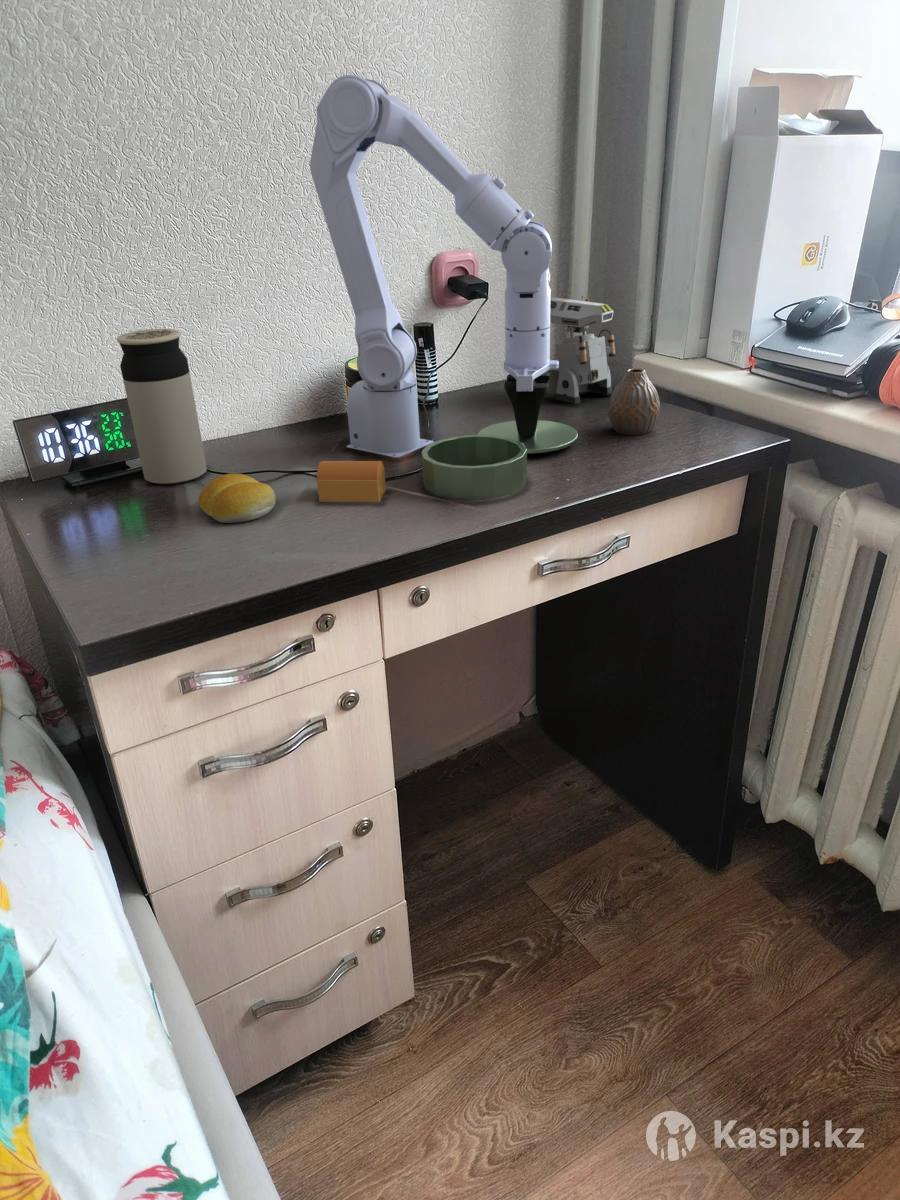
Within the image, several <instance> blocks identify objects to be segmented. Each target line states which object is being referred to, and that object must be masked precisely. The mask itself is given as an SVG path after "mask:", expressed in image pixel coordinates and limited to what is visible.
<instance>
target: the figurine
mask: <svg viewBox="0 0 900 1200" xmlns="http://www.w3.org/2000/svg"><path fill="white" fill-rule="evenodd" d="M613 315H614V309H613V308H611V307H610V305H608V304H607V303H601V302H592V301H590V299H589V298H586V299H585V300H577V299H570V298H564V297H563V298H562V297H551V302H550V324H553V325H561V326H566V327H567V329H566V331H567V332H569V336H566V337H563V341H561V342H557V343H555V351H556V354H555V356H554V358H553V359H551V360H557V361H559V368H558V379H557V384H556V392H555V395H554V400H556V401H562V402H565V403H571V404H574V405H575V404H581V395H580V394H579V386H580V385H587V387H586V391H588V393H592V394H594V395H595V394H598V395H599V396H604V397H605V396H609V395H610V394H612V392H613V386H612V377H611V375H612V374H611V370H610V367H609V365H608V359H607V355H608V357H609V358H610V357H612V358H613V357H616V356H617V353H616V347H615V336H614V334H612V333H611V331H610V330H608V329H602V330H601V331H600V332H599V334H598V336H595V334H594V333H587V331H588V329H589V326H590V325H593V324H596V323H605V322H609V321H612V319H613ZM603 332H608V333H609V334H608V335H607V344H608V345H607V344H606V338H605V336H604V335H602V333H603ZM574 333H576V334H577V335H575V334H574ZM606 345H607V346H606ZM551 370H553V369H550V370H548V371H547V372H550V371H551Z"/></svg>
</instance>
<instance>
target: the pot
mask: <svg viewBox="0 0 900 1200" xmlns="http://www.w3.org/2000/svg"><path fill="white" fill-rule="evenodd" d="M420 454H421V456H420V457H421V471H422V484H423V486H424V489H425V490H426V491H428V492H429V493H431V494H433V495H434V496H437V497H442V498H447V499H451V500H466V501H470V500H471V501H477V500H486V499H488V500H489V499H496V498H500V497H503V496H507V495H511V494H513V493H515V492H518V491H519V490H520V489H522V488H524V486H525V485H526V483H527V481H528V453H527V449H526V448H525V446H524V445H523V443H521V442H518V441H516V440H514V439H511V438H506V437H500V436H494V435H478V434H467V435H456V436H451V437H447V438H442V439H438V440H436V441H433V443H431V444H428V445H426V446H424V447H423V449H422V451H421V452H420Z"/></svg>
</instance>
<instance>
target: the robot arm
mask: <svg viewBox="0 0 900 1200" xmlns="http://www.w3.org/2000/svg"><path fill="white" fill-rule="evenodd" d="M315 110H316V126H315V132H314V137H313V143H312V149H311V154H310V159H309V169H310V170H309V171H310V174H311V177H312V181H313V184H314V188H315V191H316V193H317V197H318V200H319V205H320V206H321V207H320V208H321V210H322V213H323V216H324V217H323V218H324V219H325V223H326V226H327V229H328V232H329V236H330V239H331V242H332V245H333V249H334V252H335V255H336V258H337V262H338V265H339V268H340V272H341V274H342V278H343V281H344V284H345V287H346V291H347V293H348V297H349V301H350V303H351V307H352V310H353V314H354V317H355V320H354V338H355V341H356V345H357V357H356V366H357V368H356V369H357V371H358V374H359V377H361V380H359V381H357V382H355V383H354V384H353V385H352V386H351V387H350V388H349V391H348V394H347V398H346V412H347V421H348V422H347V423H348V432H349V442H350V444H348V445H346V448H349V449H354V450H359V451H363V452H368V453H372V454H378V455H383V456H387V457H392V458H401V457H403V456H405V455H407V454H410V453H412V452H414V451H416V450H419V449H421V448H425V447H426V446H427V445H429V444H431V443H434V441H433V440H431V439H424V438H421V435H420V434H421V433H420V418H419V417H420V415H419V403H418V402H419V401H418V385H417V378H416V376H415V375H414V374H413V371H412V370H411V367H412V366H413V365H414V363H415V361H416V359H417V354H418V349H417V343H416V341H415V339H414V337H413V336H412V334H410V332H409V331H408V330H407V329H406V327H405V325H404V324H403V321H402V317H401V314H400V312H399V311H398V309H397V307H395V305H394V303H393V300H392V297H391V294H390V290H389V286H388V283H387V280H386V276H385V274H384V270H383V266H382V262H381V259H380V256H379V252H378V249H377V245H376V242H375V239H374V238H375V237H374V236H373V232H372V229H371V224H370V222H369V218H368V215H367V211H366V208H365V204H364V201H363V197H362V194H361V190H360V186H359V183H358V180H357V176H356V173H357V170H358V169H359V167H360V165H361V163H362V161H363V160H364V158H365V156H366V154H367V152H368V150H369V148H370V147H372V145H374V143H376V142H378V143H382V144H386V145H390V146H395V147H399V148H402V149H403V150H404V151H406V152H407V153H408V154H409V155H410V156H411V157H412V158H413V159H414V160H415V161H416V162H417V163H418V164H420V166H421V167H422V168H424V170H426V171H427V172H428V173H429V174H430V175H431V176H432V177H434V178H435V180H437V181H438V182H439V183H440V184H441V185H442V186H443V187H444V188H445V189H446V190H448V191H449V192H450V193H451V195H453V197H454V212H455V214H456V216H458V217H459V218H460V219H461V220H462V222H464V223H465V225H467V226H468V227H469V228H470V229H471V230H472V231H473V232H474V233H475V234H476V235H477V236H478V237H479V238H480V239H481V240H482V242H484V243H485V244H486V245H487V246H488V247H489V248H490V249H491V250H492V251H498V252H500V253H501V254H500V257H501V261H502V265H503V267H504V269H505V270H506V271H505V272H506V275H505V276H506V278H505V279H506V280H505V281H506V284H505V285H506V287H505V289H504V362H503V370H504V371H505V372H506V373H508V374H507V375H506V380H505V381H504V384H503V385H504V386H503V387H504V390H505V393H506V395H507V396H508V398H509V401H510V403H511V407H512V410H513V416H514V421H516V426H517V431H518V434H519V436H534V435H535V432H536V427H537V422H538V420H539V415H540V409H541V405H542V402H543V400H544V398H545V395H546V393H547V392H548V389H549V383H548V382H549V380H550V371H551V370H550V369H552V370H557V369H558V368H559V361H557V360H552V359H551V357H550V356H551V323H550V302H551V299H552V297H551V293H552V292H551V291H552V290H551V287H550V285H549V284H550V282H551V272H550V267H549V265H550V263H551V261H552V254H553V252H552V250H553V243H552V239H551V236H550V234H549V232H548V230H546V229H545V226H544V224H542V223H541V222H538V221H536V220H532V219H533V218H534V216H535V215H534V213H533V212H532V211H531V210H530V209H527V210H526V211H525V210H524V209H523V208H522V207H521V205H519V204H518V203H517V201H515V200H514V199H513V197H511V195H510V194H508V193H507V192H506V191H505V189H504V188H505V187H506V183H505V181H503V179H501V177H499V176H497V177H496V178H495V179H493V177H492V176H491V175H490V174H488V173H478V174H473V173H472V172H471V171H470V170H469V169H468V168H467V167H466V166H465V165H464V164H463V163H462V162H461V161H460V159H459V158H458V157H457V156H456V155H455V154H454V153H453V151H452V150H450V149H449V148H448V146H446V144H445V143H444V142H443V141H442V140H441V139H440V137H438V135H437V134H436V133H435V132H433V130H432V129H431V128H430V127H429V126H428V125H427V123H425V122H424V120H423V119H421V117H420V116H419V115H418V114H417V113H416V112H415V111H414V110H412V108H410V107H409V105H407V104H405V103H404V102H403V101H402V100H401V99H400V98H398V97H397V96H395V95H393V94H390V93H389V91H388V90H387V89H386V87H384V85H382V83H380V82H378V81H376V80H373V79H370V78H369V79H368V78H365V79H364V78H362V77H361V76H359V75H354V74H345V75H342V76H339V77H336V79H334V80H333V81H332V82H331V83H330V84H329V86H328V88H326V91H325V92H324V94H323V96H322V97H321V100H320V101H319V103H318V104H317V106H316V109H315ZM548 370H550V371H548Z"/></svg>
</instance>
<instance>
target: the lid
mask: <svg viewBox="0 0 900 1200" xmlns="http://www.w3.org/2000/svg"><path fill="white" fill-rule="evenodd" d="M477 435H494V436H500V437H506V438H511V439H514V440H516V441H518V442H521V443H523V445H524V446H525V448H526V449H527V454H542V453H550V452H556V451H559V450H563V449H566V448H568V447H570V446H573V445H574V444H575V443H576V442H577V440H578V437H579V436H578V435H579V434H578V431H577V430H576V429H575V428H574V427H572V426H570V425H568V424H566V423H565V424H564V423H562V422H557V421H550V420H543V419H542V420H539V419H538V422H537V427H536V432H535V435H534V436H519V434H518V431H517V426H516V421H515V420H508V421H503V422H497V423H494V424H490V425H488V426H486V427H483V428H482V429H480V430H479V431H478V432H477Z"/></svg>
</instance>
